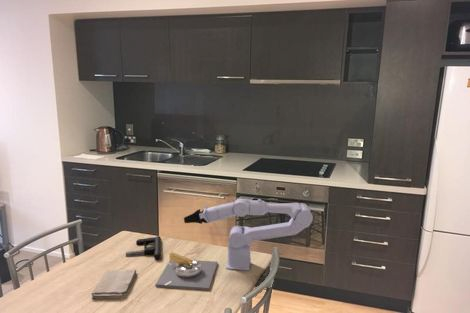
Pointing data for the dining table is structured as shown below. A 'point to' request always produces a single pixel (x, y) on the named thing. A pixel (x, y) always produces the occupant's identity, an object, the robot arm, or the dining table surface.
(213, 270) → the nut board
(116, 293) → the washcloth
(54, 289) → the dining table surface
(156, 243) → the door handle
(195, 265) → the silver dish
